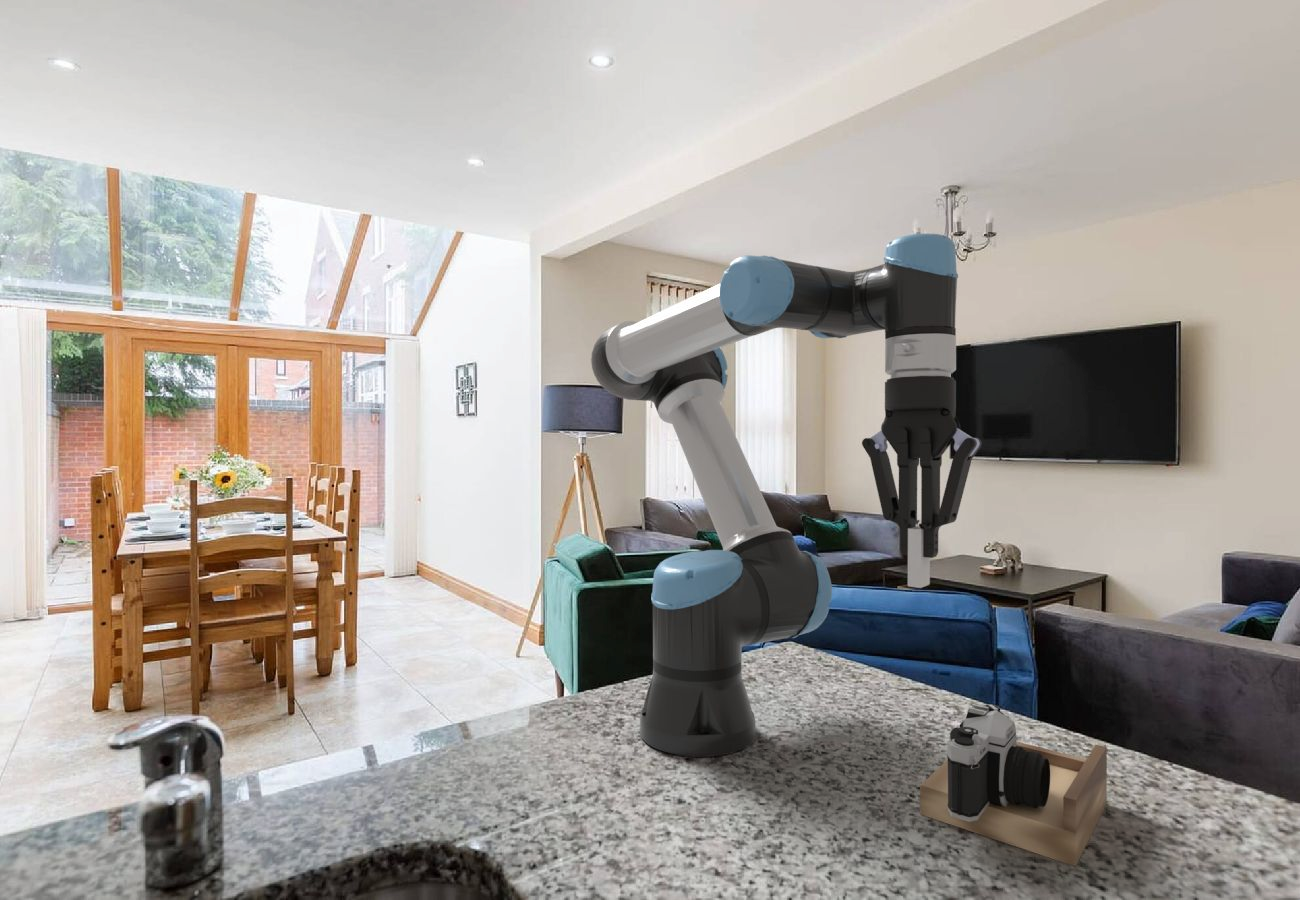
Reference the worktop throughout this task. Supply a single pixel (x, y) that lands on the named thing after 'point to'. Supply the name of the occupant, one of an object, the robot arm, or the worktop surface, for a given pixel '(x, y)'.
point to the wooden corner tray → (1038, 829)
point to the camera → (992, 766)
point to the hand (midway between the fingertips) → (918, 585)
